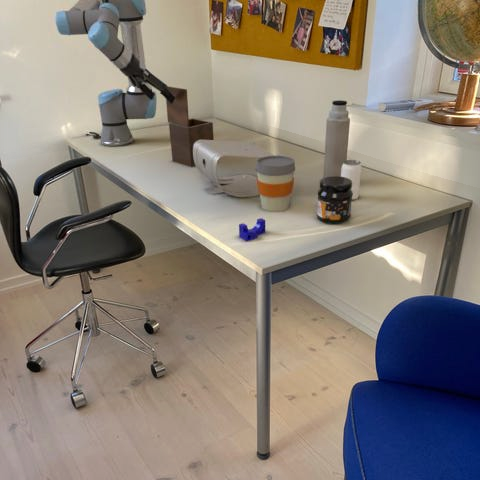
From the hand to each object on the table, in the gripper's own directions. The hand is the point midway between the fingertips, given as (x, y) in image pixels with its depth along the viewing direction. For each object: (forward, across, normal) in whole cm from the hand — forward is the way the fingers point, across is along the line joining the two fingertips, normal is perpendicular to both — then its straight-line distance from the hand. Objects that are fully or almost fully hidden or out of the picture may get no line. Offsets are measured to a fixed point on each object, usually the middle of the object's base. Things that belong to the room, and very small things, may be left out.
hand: (162, 98), depth 207 cm
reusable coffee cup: (+11, -70, +24) cm, 75 cm away
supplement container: (+14, -91, +21) cm, 95 cm away
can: (+28, -83, +8) cm, 88 cm away
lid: (+3, -7, 0) cm, 8 cm away
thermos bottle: (+35, -69, +1) cm, 77 cm away
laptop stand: (+15, -46, +21) cm, 53 cm away
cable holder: (-4, -82, +40) cm, 91 cm away
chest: (+23, -7, +12) cm, 27 cm away
